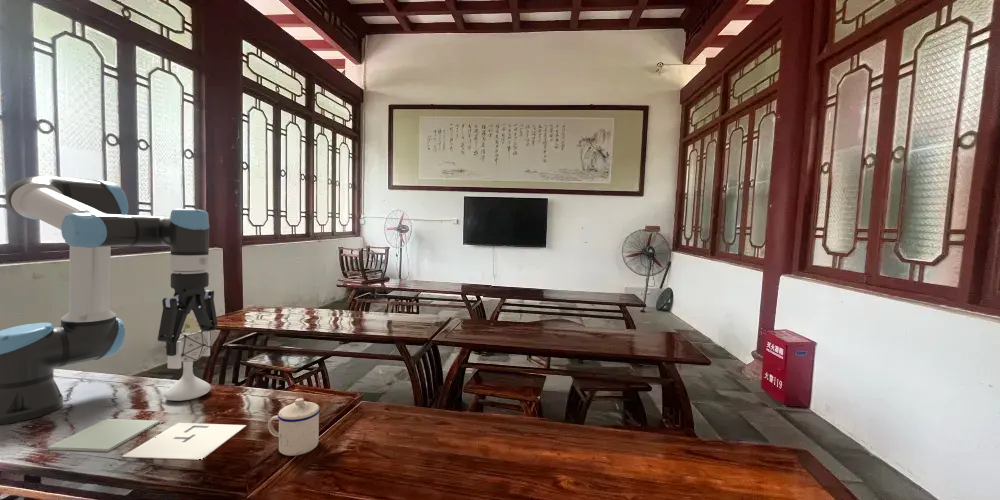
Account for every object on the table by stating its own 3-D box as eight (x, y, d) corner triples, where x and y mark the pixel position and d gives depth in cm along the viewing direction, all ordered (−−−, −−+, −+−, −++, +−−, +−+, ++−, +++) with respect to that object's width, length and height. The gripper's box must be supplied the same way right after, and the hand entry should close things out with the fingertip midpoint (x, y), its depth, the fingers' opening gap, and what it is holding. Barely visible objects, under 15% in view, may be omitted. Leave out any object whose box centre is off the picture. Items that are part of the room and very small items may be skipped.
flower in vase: (217, 395, 126) (217, 315, 124) (173, 408, 116) (172, 321, 115) (198, 385, 132) (198, 309, 131) (155, 396, 123) (154, 315, 122)
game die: (190, 379, 100) (180, 355, 94) (163, 364, 101) (151, 339, 95) (222, 353, 107) (215, 329, 101) (197, 339, 108) (188, 314, 102)
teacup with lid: (326, 437, 103) (326, 392, 102) (308, 457, 93) (308, 408, 93) (279, 435, 103) (279, 390, 102) (256, 455, 94) (257, 406, 93)
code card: (121, 457, 91) (121, 456, 91) (178, 423, 107) (178, 422, 107) (201, 460, 91) (201, 458, 91) (246, 425, 107) (246, 425, 107)
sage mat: (47, 449, 93) (47, 446, 93) (106, 421, 107) (106, 418, 107) (108, 451, 93) (108, 449, 93) (159, 422, 107) (159, 420, 107)
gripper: (169, 277, 90) (169, 377, 91) (234, 268, 111) (233, 349, 112) (135, 276, 90) (135, 376, 91) (206, 267, 111) (206, 348, 112)
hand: (189, 361), depth 101 cm, fingers closed on game die, 9 cm apart
